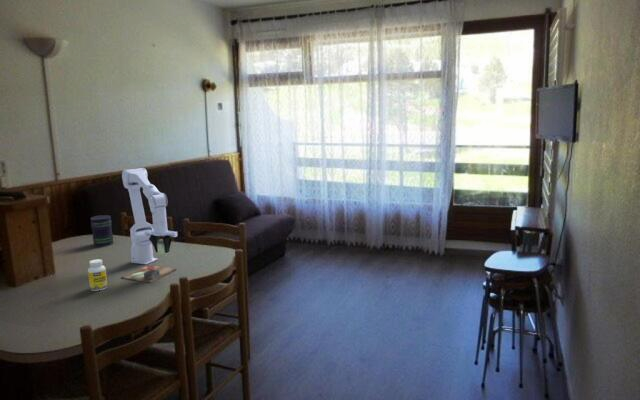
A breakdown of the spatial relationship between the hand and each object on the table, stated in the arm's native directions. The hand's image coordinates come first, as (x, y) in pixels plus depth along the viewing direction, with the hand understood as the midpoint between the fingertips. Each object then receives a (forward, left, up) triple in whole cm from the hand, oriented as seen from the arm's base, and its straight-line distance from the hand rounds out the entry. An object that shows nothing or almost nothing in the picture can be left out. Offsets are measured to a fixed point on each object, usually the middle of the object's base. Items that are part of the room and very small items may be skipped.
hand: (162, 252), depth 204 cm
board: (-5, -4, -9) cm, 11 cm away
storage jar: (-61, +24, -10) cm, 66 cm away
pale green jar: (0, 0, -2) cm, 2 cm away
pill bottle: (-13, -24, -10) cm, 29 cm away
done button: (0, -8, -6) cm, 10 cm away
